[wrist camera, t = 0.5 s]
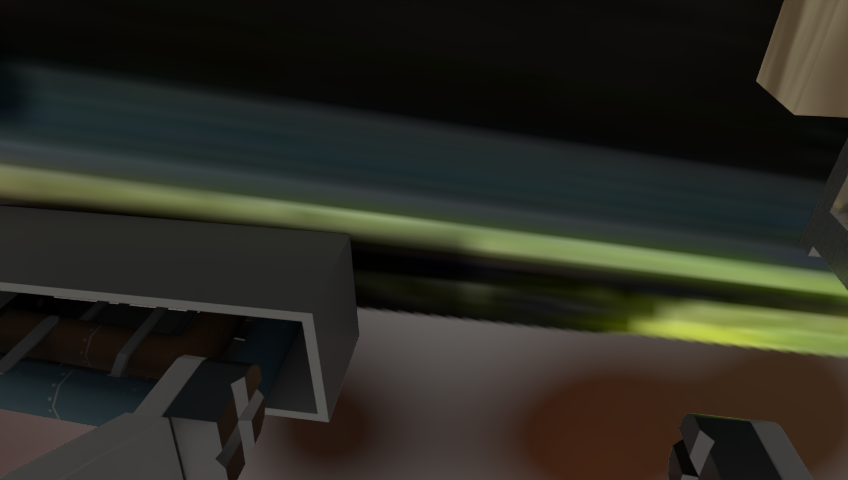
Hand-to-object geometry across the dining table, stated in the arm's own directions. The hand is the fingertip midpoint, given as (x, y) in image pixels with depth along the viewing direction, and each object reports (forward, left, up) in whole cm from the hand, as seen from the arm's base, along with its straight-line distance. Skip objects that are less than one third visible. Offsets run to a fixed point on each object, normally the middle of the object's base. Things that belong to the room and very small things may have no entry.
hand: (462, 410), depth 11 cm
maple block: (0, +21, -37) cm, 43 cm away
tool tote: (+28, -34, -37) cm, 58 cm away
